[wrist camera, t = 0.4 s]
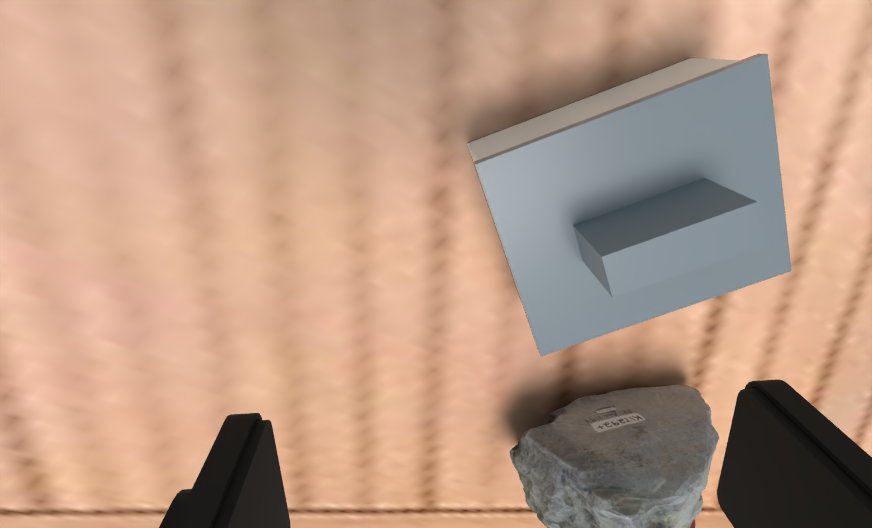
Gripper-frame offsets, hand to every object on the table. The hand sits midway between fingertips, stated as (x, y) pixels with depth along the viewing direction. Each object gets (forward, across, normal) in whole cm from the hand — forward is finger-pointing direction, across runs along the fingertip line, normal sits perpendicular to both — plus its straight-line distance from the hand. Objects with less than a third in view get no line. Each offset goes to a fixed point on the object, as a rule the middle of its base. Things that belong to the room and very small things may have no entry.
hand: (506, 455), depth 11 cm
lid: (+23, -12, +2) cm, 26 cm away
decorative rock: (+30, -13, +22) cm, 39 cm away
